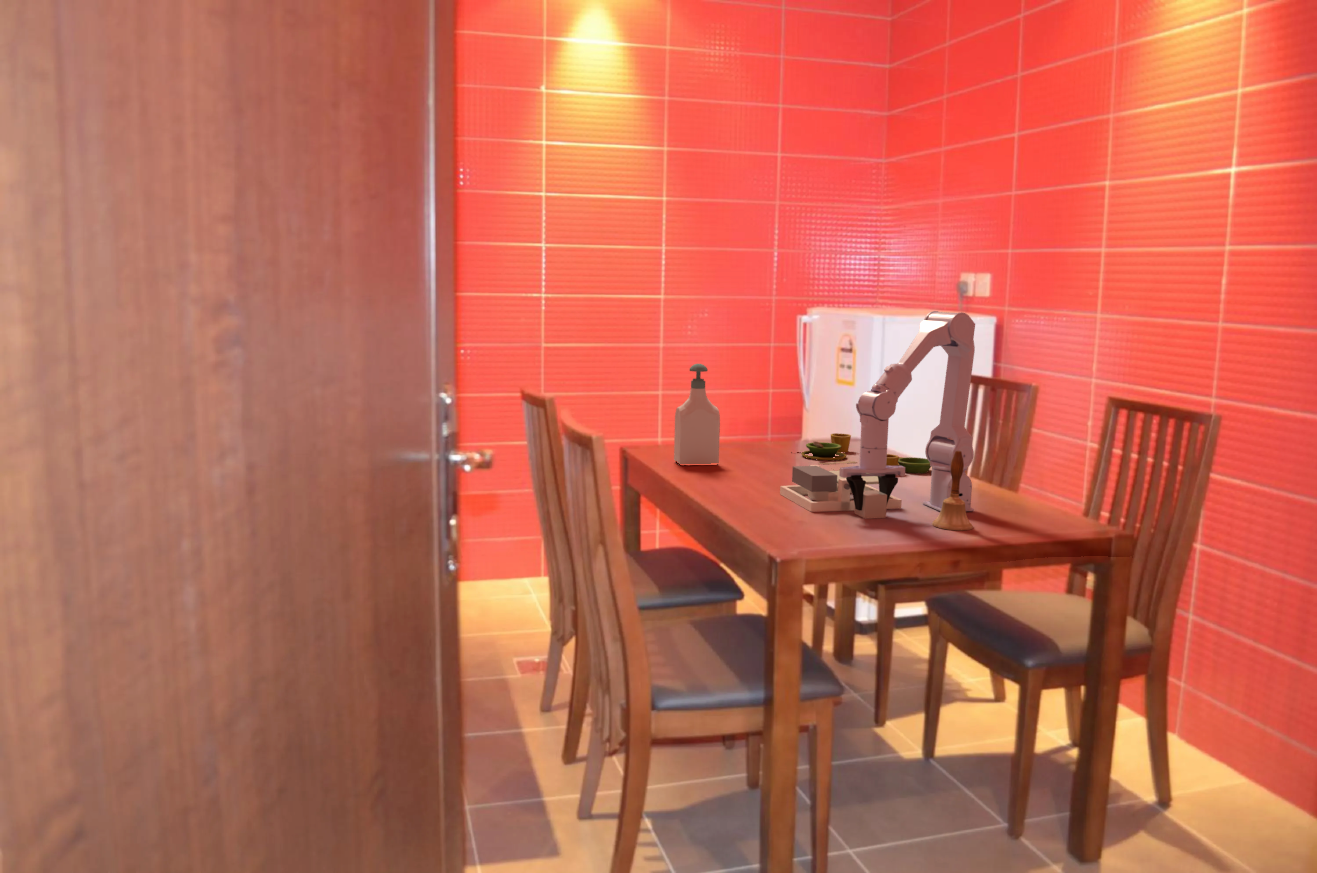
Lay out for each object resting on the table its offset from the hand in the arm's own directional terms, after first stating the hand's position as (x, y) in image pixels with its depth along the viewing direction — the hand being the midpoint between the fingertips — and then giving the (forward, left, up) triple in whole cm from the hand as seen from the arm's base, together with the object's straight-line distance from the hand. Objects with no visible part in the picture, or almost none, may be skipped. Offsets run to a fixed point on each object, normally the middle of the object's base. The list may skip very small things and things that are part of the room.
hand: (870, 509), depth 229 cm
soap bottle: (+68, +20, -2) cm, 71 cm away
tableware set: (+63, -27, -2) cm, 69 cm away
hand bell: (-12, -13, -2) cm, 18 cm away
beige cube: (0, 0, -1) cm, 1 cm away
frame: (+15, 0, -1) cm, 15 cm away
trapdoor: (+15, +1, +2) cm, 15 cm away
